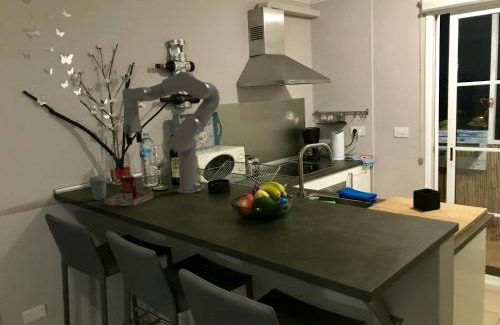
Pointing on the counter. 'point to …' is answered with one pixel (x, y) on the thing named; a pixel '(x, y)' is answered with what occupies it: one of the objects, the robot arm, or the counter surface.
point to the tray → (123, 202)
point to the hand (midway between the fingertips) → (134, 143)
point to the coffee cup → (98, 187)
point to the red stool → (128, 187)
